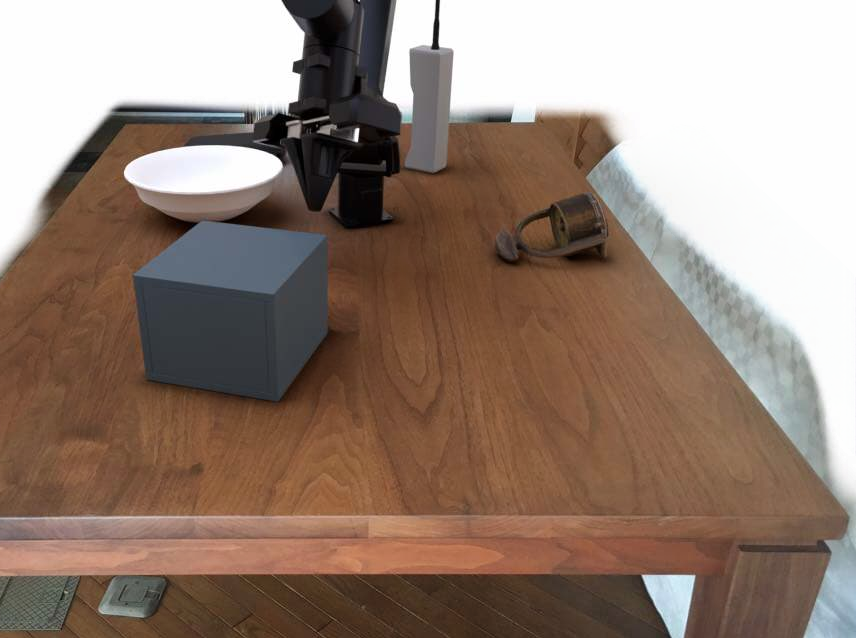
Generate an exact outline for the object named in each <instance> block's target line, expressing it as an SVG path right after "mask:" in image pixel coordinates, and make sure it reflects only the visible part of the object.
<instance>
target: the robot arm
mask: <svg viewBox="0 0 856 638" xmlns="http://www.w3.org/2000/svg"><path fill="white" fill-rule="evenodd" d="M281 2H282V4H283V6H284V8H285V9H286V10H287V12H288V14H289V15H290V16H291V17H292V19H293V21H294V22H295V23H296V25H297V26H298V27H299V29H300V30H301V31H302V32H303V33H304V35H303V45H302V54H301V58H300V59H298V60H294V61H293V62H292V69H291V70H292V71H291V73H294V74H297V75H299V84H298V92H297V93H298V94H297V100H296V101H293V102H292V101H291V102H289V103H288V110H287V114H284V113H281V112H277V113H276V112H275V113H272V114H268V115H265V116H262V117H261V118H259V119H258V120H257V121H255V122H254V123H253V131H252V132H253V142H254V143H259V144H263V145H267V146H271V147H275V148H280V149H284V150H286V154H287V155H288V158H289V161H290V162H291V165H292V167H293V170H294V172H295V175H296V178H297V181H298V184H299V187H300V190H301V193H302V196H303V199H304V202H305V204H306V207H307V210H308V211H309V212H313V213H319V212H321V211H322V210H323V208H324V205H325V203H326V200H327V198H328V196H329V193H330V191H331V189H332V186H333V185H334V182H335V179H336V177H337V176H338V177H337V179H338V180H337V201H338V202H337V207H330V208H328V213H329V214H330V215H331V216H332V217H333V218H334V219H335V220H337V222H339V223H340V224H341V225H342V226H343V227H344V228H348V229H351V228H357V227H365V226H371V225H378V224H386V223H392V222H394V217H393V216H392V215H391V214H389V212H387V211H386V210H385V209H384V189H385V187H384V185H385V177H386V178H392V176H393V175H398V174H400V173H401V149H400V143H399V138H398V136H401V131H402V124H403V123H402V122H403V113H402V111H401V110H400V108H399V106H398V104H397V103H395V102H391V101H389V100H387V99H386V98H385V97H384V90H385V84H386V76H387V70H388V62H389V58H390V57H389V56H390V51H391V50H390V48H391V43H392V35H393V27H394V20H395V14H396V7H397V0H281ZM288 114H290V115H288ZM292 115H293V116H292ZM295 116H297V117H295Z"/></svg>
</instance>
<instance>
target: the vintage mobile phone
mask: <svg viewBox="0 0 856 638" xmlns="http://www.w3.org/2000/svg"><path fill="white" fill-rule="evenodd" d="M434 3H435V4H434V5H435V7H434V20H433V23H432V24H433V26H432V43H431V45H426V44H422V45H418V46H415V47H411V48H409V51H408V53H409V54H408V55H409V80H410V81H409V85H410V88H411V91H412V118H411V138H410V139H411V140H410V142H411V143H410V149H409V151H408V153H407V155H406V157H405V159H404V168H405V169H409V170H413V171H418V172H422V173H428V174H432V175H433V174H435V173H437V172H439V171H441V170H444V169H445V168H446V167H447V161H448V160H447V159H448V144H449V131H450V130H449V128H450V114H451V101H452V99H451V97H452V85H453V66H454V52H455V51H454V50H453V48H451V47H443V46H440V26H441V25H440V24H441V23H440V11H441V9H440V7H441V0H435V2H434Z"/></svg>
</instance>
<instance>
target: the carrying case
mask: <svg viewBox="0 0 856 638" xmlns="http://www.w3.org/2000/svg"><path fill="white" fill-rule="evenodd" d="M253 132H254V131H252V132H237V133H236V132H235V133H222V134H208V135H196V136H192V137H190V138H189V139H188V140H187V142H185V144H184V145H183V147H189V146H207V145H221V146H237V147H245V148H251V149H256V150H260V151H264V152H267V153H269V154H272V155H274V156H275V157H277V158H278V159H279V160H280V161H281V162H282V160H283V159H284V157H285V156H286V155H287V151H286V150H284V149H280V148H275V147H271V146H267V145H263V144H259V143H254V142H253Z"/></svg>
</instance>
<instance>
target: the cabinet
mask: <svg viewBox="0 0 856 638" xmlns="http://www.w3.org/2000/svg"><path fill="white" fill-rule="evenodd" d="M132 280H133V281H132V282H133V286H134V287H133V289H134V295H135V304H136V311H137V312H136V313H137V318H138V326H139V334H140V335H139V336H140V341H141V349H142V357H143V365H144V372H145V380H146V381H150V382H151V381H153V382H158V383H163V384H164V383H165V384H170V385H176V386H181V387H187V388H193V389H198V390H204V391H205V390H206V391H209V392H216V393H222V394H227V395H228V394H229V395H235V396H240V397H247V398H252V399H258V400H263V401H270V402H275V403H279V401H281V399H282V398H283V396H284V394H285V393H286V392H287V390H288V389H289V388H290V386H291V385H292V383H293V382H294V380H295V379H296V378H297V376H298V375H299V374H300V372H301V371H302V370H303V368H304V367H305V365H306V364H307V362H308V361H309V360H310V358H311V357H312V355H314V353H315V352H316V350H317V349H318V347H319V346H320V345H321V343H322V342H323V340H324V339H325V338H326V336H327V335H328V334H329V329H328V328H329V327H328V326H329V308H328V307H329V306H328V305H329V302H328V300H329V299H328V297H329V293H328V291H329V290H328V285H329V284H328V280H329V279H328V235H327V234H322V233H314V232H313V233H312V232H306V231H305V232H304V231H295V230H288V229H279V228H271V227H260V226H253V225H252V226H251V225H243V224H235V223H226V222H219V221H218V222H210V221H201V222H200V223H198V222H197V224H196V225H195V226H193V227H192V228H191V229H190V230H188V231H187V232H186V233H184V234H183V235H182V236H180V237H179V238H177V239H176V241H174V242H173V243H172V244H170V245H169V246H167V248H165V249H164V250H163V251H162V252H160V253H159V254H157V256H155V257H154V258H152V259H151V260H150V261H149V262H147V263H146V264H145V265H143V266H142V267H141V268H140V269H138V270H137V271H136V272H135V273H133V274H132Z"/></svg>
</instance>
